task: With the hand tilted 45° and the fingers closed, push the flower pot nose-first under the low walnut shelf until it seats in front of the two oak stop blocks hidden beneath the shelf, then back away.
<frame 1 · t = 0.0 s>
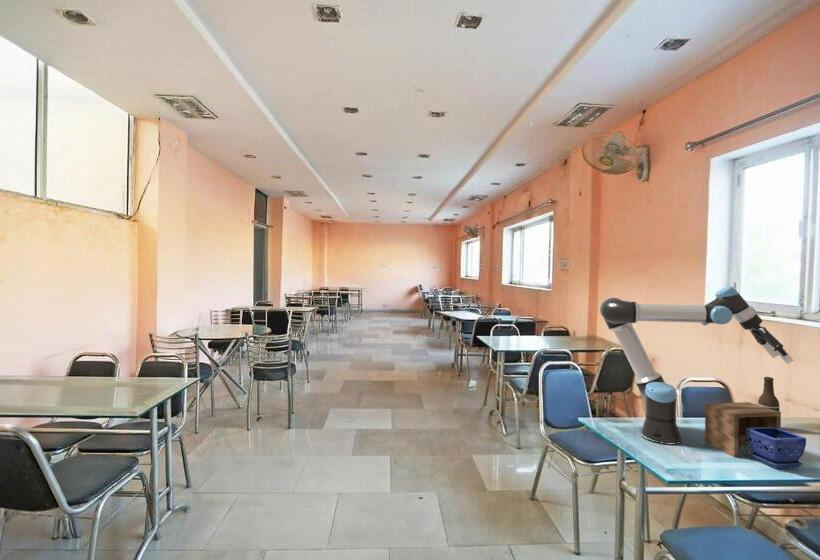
hand: (782, 359, 183), 36 cm above the table, tool tilted 35°, fingers open, 13 cm apart
shelf: (750, 452, 172), on the table
flower pot: (774, 464, 162), on the table
beer bottle: (768, 428, 201), on the table
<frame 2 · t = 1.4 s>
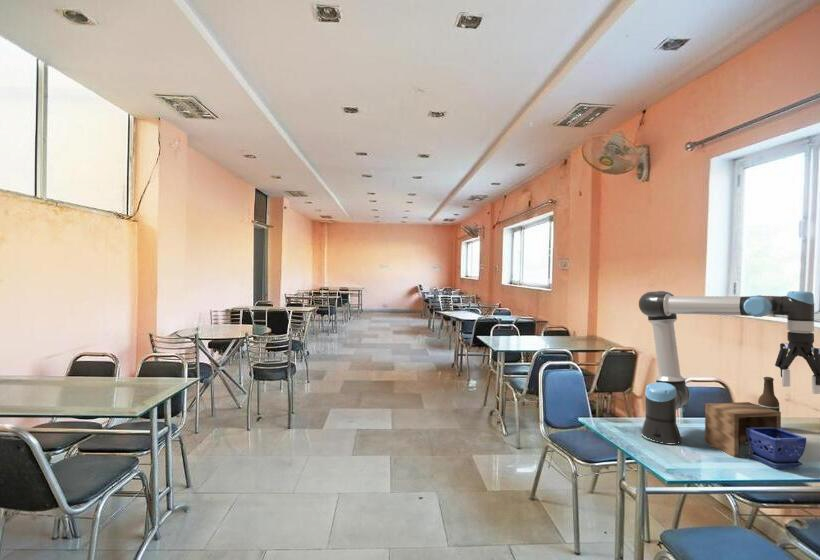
hand: (800, 389, 163), 28 cm above the table, tool pointing down, fingers open, 10 cm apart
nothing on the table moved.
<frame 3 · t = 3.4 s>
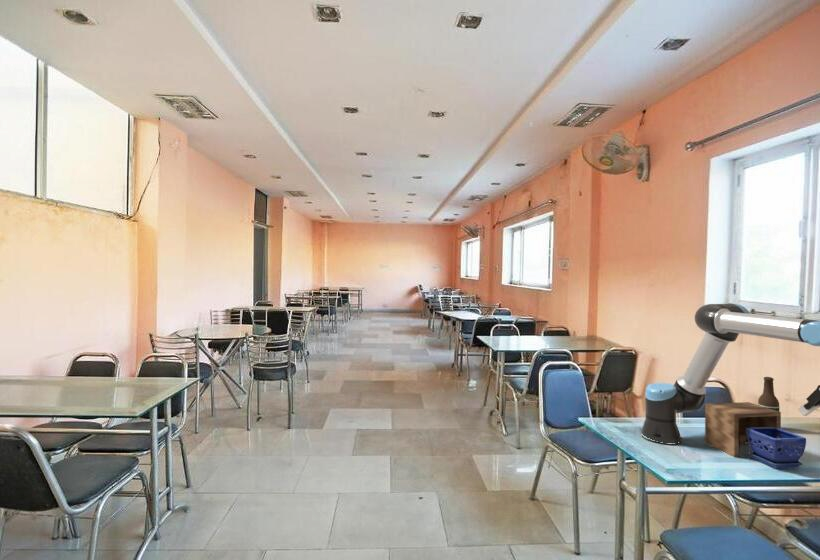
hand: (802, 412, 153), 22 cm above the table, tool tilted 45°, fingers closed
nothing on the table moved.
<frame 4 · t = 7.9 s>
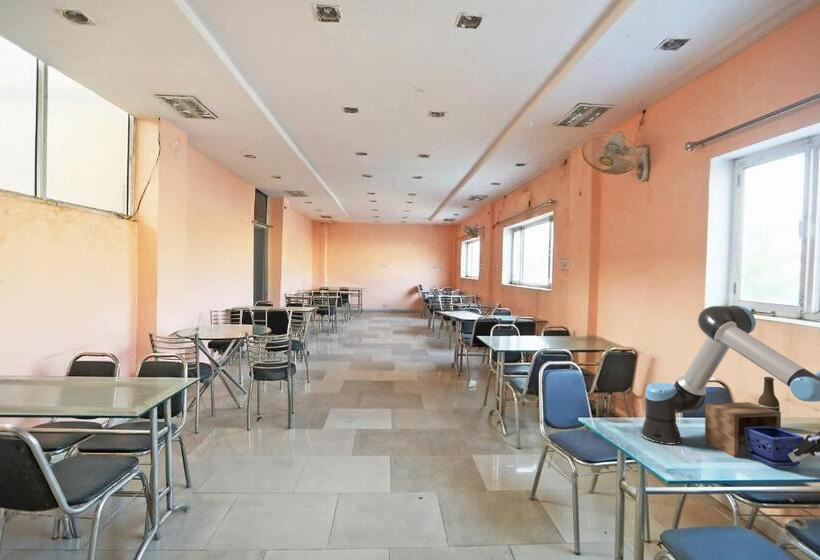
hand: (792, 458, 156), 5 cm above the table, tool tilted 45°, fingers closed
flower pot: (772, 463, 163), on the table, touching gripper
everything else where it was.
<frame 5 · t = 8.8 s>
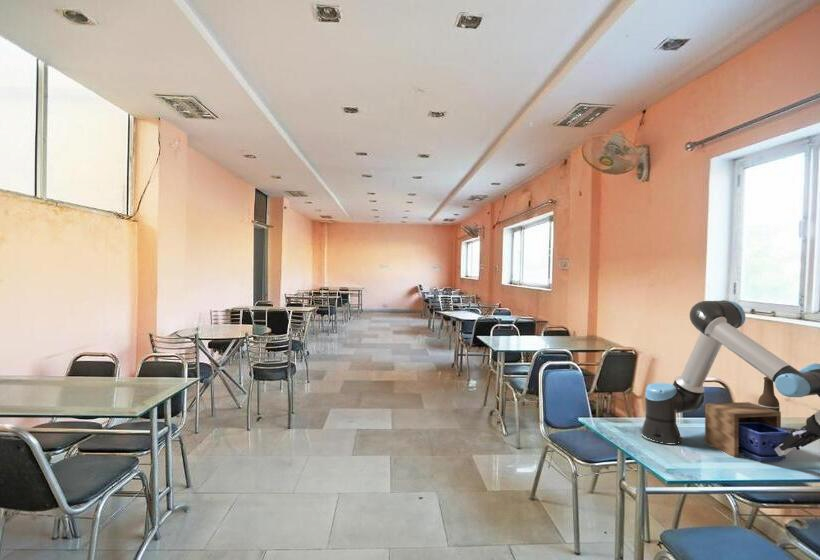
hand: (778, 452, 161), 5 cm above the table, tool tilted 45°, fingers closed
flower pot: (760, 457, 168), on the table, touching gripper
everything else where it was.
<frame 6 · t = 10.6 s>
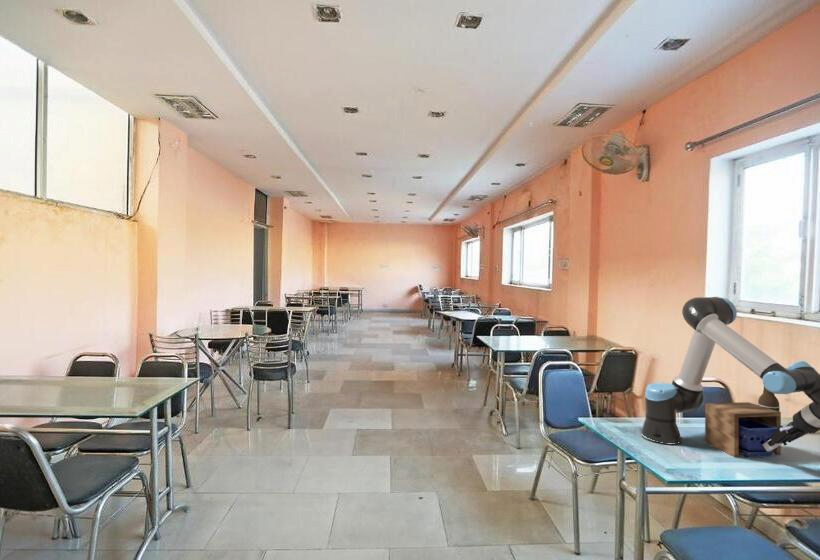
hand: (766, 447, 166), 5 cm above the table, tool tilted 45°, fingers closed
flower pot: (749, 453, 173), on the table
everything else where it was.
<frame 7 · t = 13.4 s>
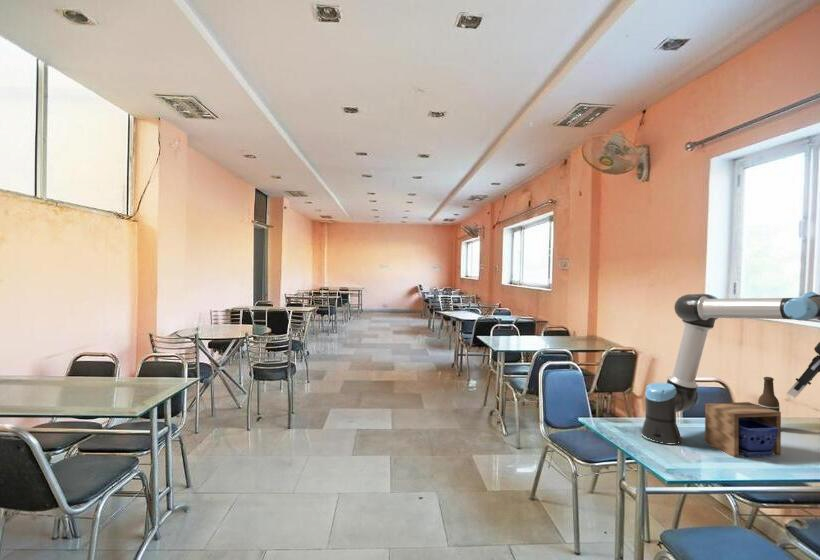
hand: (791, 394, 161), 26 cm above the table, tool tilted 30°, fingers closed
nothing on the table moved.
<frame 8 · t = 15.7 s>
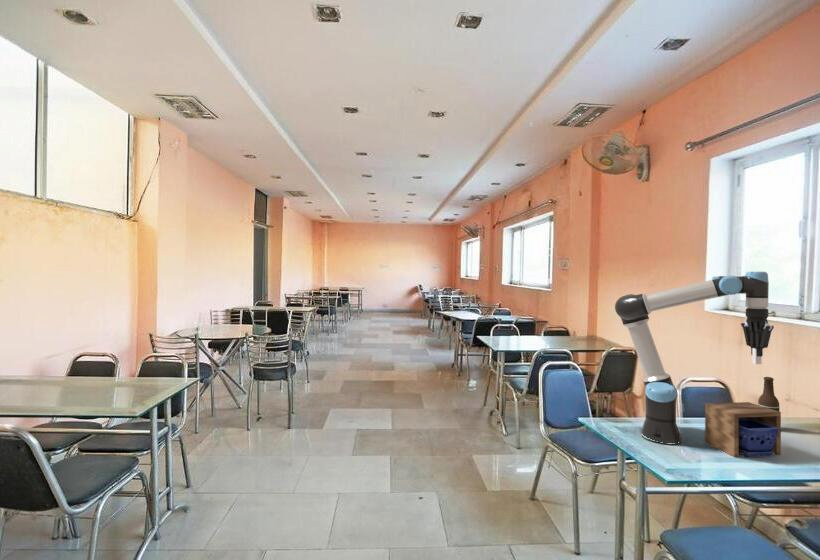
hand: (756, 363, 181), 34 cm above the table, tool pointing down, fingers closed
nothing on the table moved.
at the end: flower pot inside the target area on the shelf (1.1 cm from its centre), point 0.0 cm above the shelf's base; flower pot tilted 0°; flower pot moved 10.6 cm from its start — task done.
